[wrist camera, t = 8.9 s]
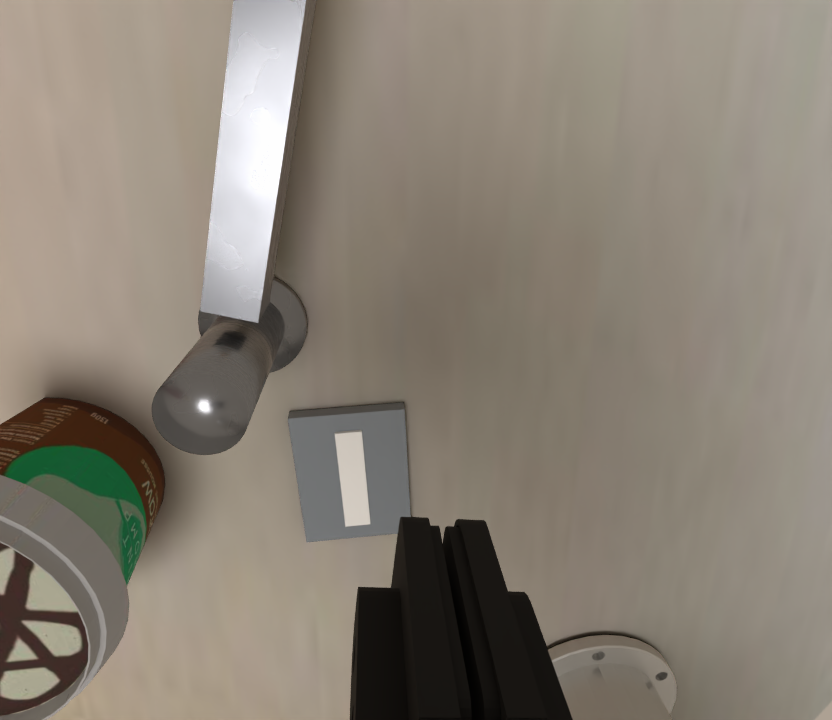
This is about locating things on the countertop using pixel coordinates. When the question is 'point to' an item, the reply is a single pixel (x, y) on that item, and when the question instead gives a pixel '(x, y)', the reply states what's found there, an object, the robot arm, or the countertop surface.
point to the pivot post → (228, 374)
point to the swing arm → (255, 152)
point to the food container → (67, 547)
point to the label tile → (351, 470)
